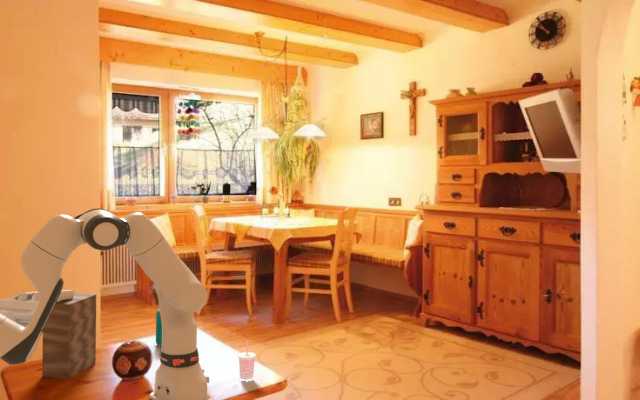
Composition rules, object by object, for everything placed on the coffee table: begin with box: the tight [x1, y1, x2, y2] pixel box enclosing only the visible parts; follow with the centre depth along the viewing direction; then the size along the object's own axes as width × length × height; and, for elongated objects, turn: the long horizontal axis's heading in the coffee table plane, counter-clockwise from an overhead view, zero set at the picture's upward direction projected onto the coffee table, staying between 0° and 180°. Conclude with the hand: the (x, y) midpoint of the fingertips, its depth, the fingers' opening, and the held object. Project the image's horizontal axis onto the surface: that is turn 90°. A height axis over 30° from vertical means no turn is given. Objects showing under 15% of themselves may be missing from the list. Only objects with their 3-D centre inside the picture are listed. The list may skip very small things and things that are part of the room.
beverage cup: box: [237, 340, 257, 380], centre depth 186 cm, size 6×6×14 cm
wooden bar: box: [17, 289, 75, 302], centre depth 178 cm, size 24×3×3 cm, turn 171°
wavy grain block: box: [41, 292, 97, 380], centre depth 190 cm, size 16×10×26 cm, turn 171°
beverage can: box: [155, 308, 162, 347], centre depth 222 cm, size 6×6×15 cm
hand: (30, 293), depth 169 cm, fingers closed on wooden bar, 3 cm apart
